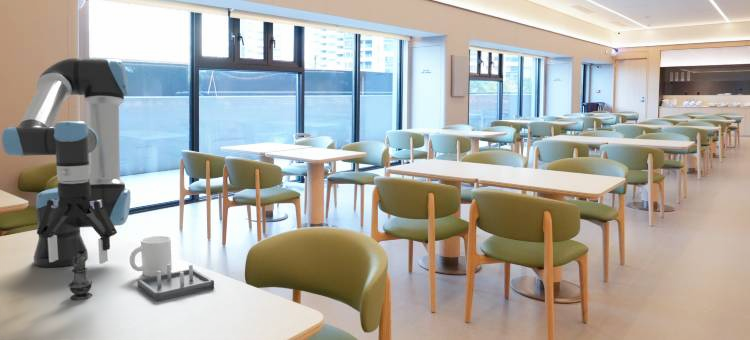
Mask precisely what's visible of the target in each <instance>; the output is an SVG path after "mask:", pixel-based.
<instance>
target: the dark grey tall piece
mask: <svg viewBox="0 0 750 340" xmlns="http://www.w3.org/2000/svg"><path fill="white" fill-rule="evenodd" d="M77 255H78V256H77V257H75V258H74V259H73V267H72V268H73V269H72V270H71V272H72V274H73V275H72V276H73V280H72V282H70V283H68V284H67V286H68V288H69V291H70V292H71V293H72V295H71V296H70V297H69V298H70V300H71V301H83V300H88V299H90V298H92V297H93V294H92V293H91V292H89V291H91V289H92V285H93V283H94V282H93V281H92V280H89V279H88V278H87V270H88V267H86V260H85V258H84V257H83V256H80V254H79V253H78V254H77Z"/></svg>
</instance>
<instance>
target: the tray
mask: <svg viewBox="0 0 750 340" xmlns="http://www.w3.org/2000/svg"><path fill="white" fill-rule="evenodd" d="M193 265H194V264H189V265H188V269H183V270H180V271H173V272H172V270H171V264H167V274H163V275H161V271H157V276H153V277H148V276H147V277H144V278H143V277H142V278H139V279H137V282H136V283H137V288H138V289H140V290H141V292H143V293H145V294H146V295H147V296H149V297H150V298H151V299H153V300H154V301H155V302H156V303H157V302H161V301H164V300H170V299H174V298H179V297H183V296H187V295H191V294H195V293H199V292H205V291H208V290H212V289H213V290H214V289H215V281H214V280H213V279H211V278H210V277H208V276H207V275H205V274H204V273H202V272H199V271H198V270H196V269H195V268H194V267H193Z"/></svg>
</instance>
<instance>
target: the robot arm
mask: <svg viewBox="0 0 750 340" xmlns="http://www.w3.org/2000/svg"><path fill="white" fill-rule="evenodd" d="M128 78H129V77H128V75H127V70H126V67H125V64H124V63H123V62H122V61H121V60H120V59H111V58H78V57H77V58H74V57H73V58H71V57H70V58H66V59H63V60H60V61H57V62H56V63H53V64H52V65H50V66H49V67H48V68H46V69H45V70H44V71H43V72H42V73H40V76H39V77H38V80H37V82H36V88H37V90H36V92H35V94H34V96H33V98H32V99H31V102H30V104H29V105H28V107H27V109H26V111H25V113H24V115H23V117H22V119H21V121H20V123H19V125H18V126H12V127H5V128H4V130H3V131H2V134H1V146H2V148H3V151H4V152H5V154H6V155H8V156H21V157H25V156H27V157H28V156H55V161H56V162H55V163H56V164H55V165H56V178H57V181H58V183H57V187H52V188H49V189H46V190H43V191H41V192H39V193H37V195H36V202H35V203H36V204H35V205H36V206H35V209H36V218H37V219H36V220H37V230H36V235H38V240H37V244H36V246H35V252H34V255H33V265H35V266H36V267H41V268H59V267H66V266H67V267H68V266H72V265H73V259H74V258H75V257H77V256H78V255H77V254H78V253H79V254H80V256H83V257H84V258H85V261H86V260H88V258H89V256H88V255H89V254H88V249H87V247H86V244H85V242H84V239H83V237H82V236H81V228H92V229H93V230H94V231H95V232H96V233H97V234H98V235H99V236H100V238H98V240H97V243H98V244H97V245H98V260H99V261H98V263H99V265H103V264H105V263H106V262H108V261H109V259H108V258H109V257H108V250H110V249H111V244H110V243H111V241H110V240H111V239H110V238H111V237H113V236H115V235H116V234H117V233H118V231H117V229H116V228H115V227H116V226H118V227H119V226H123V225H124V224H125V223H126V222H127V220H128V217H129V213H130V208H131V200H132V199H131V190H130V189H128V188H126V183H125V182H124V181H122V180H121V177H120V176H121V174H120V164H121V163H120V161H121V160H120V158H121V157H120V105H122V104H123V103H124V102H125V97H126V96H129V94H130V85H129V84H130V83H129V79H128ZM75 95H76V96H84V101H85V102H86V103H87V104H88V105H89V126H87V124H88V123H86V122H85V121H83V120H82V121H81V120H67V121H65V120H64V121H57V122H55V121H56V119H57V118H58V115H59V112H60V110H61V108H62V106H63V104H64V101H66V100H67V99H69V97H70V96H75ZM53 125H54V126H53Z"/></svg>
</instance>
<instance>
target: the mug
mask: <svg viewBox="0 0 750 340" xmlns="http://www.w3.org/2000/svg"><path fill="white" fill-rule="evenodd" d="M171 243H172V241H171V237H169V236H167V235H166V236H165V235H154V236H148V237H144V238H142V239H141V240H140V246H137V247H135V248H133V250H132V252H131V254H130V256H129V265H130V266H131V268H132V269H133V270H134V271H137V272H142V274H143V275H144V276H146V277H147V278H148V277H153V276H157V271H161V275H163V274H167V264H171V271H172V269H173V267H172V262H173V261H172V244H171ZM138 253H141V266H140V265H137V264H136V261H135V259H136V256H137V255H138Z"/></svg>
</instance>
